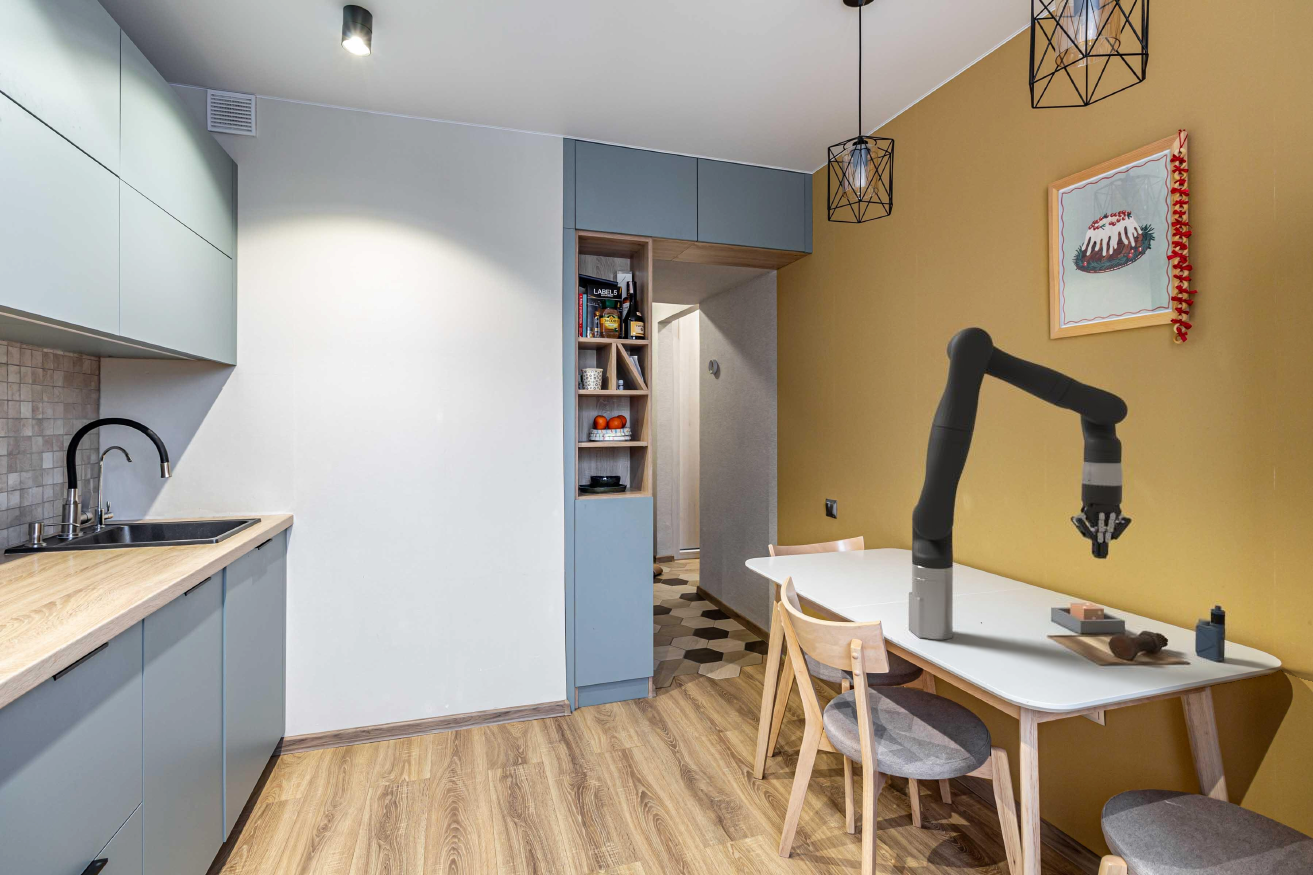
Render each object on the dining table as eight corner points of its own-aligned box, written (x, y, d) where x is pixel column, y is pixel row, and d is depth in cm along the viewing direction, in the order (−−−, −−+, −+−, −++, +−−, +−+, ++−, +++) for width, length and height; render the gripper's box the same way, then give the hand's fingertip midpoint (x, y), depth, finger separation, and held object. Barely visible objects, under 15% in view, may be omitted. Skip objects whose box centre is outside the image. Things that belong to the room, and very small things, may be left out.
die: (1083, 628, 154) (1084, 608, 154) (1070, 622, 159) (1070, 602, 159) (1103, 628, 154) (1104, 608, 154) (1089, 621, 159) (1089, 602, 159)
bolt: (1164, 657, 141) (1124, 665, 135) (1143, 640, 145) (1103, 647, 139) (1180, 639, 138) (1140, 647, 132) (1158, 622, 142) (1118, 629, 136)
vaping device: (1219, 663, 133) (1220, 608, 133) (1192, 654, 138) (1193, 601, 138) (1227, 661, 134) (1228, 607, 134) (1200, 653, 139) (1201, 600, 139)
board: (1100, 665, 133) (1100, 663, 133) (1047, 636, 150) (1047, 635, 150) (1189, 663, 133) (1189, 662, 133) (1126, 635, 151) (1126, 634, 151)
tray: (1080, 635, 151) (1080, 621, 151) (1051, 620, 162) (1051, 607, 162) (1124, 634, 151) (1124, 620, 151) (1092, 620, 162) (1092, 607, 162)
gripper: (1084, 484, 137) (1082, 561, 137) (1143, 484, 137) (1141, 561, 137) (1061, 480, 144) (1060, 554, 145) (1117, 480, 144) (1115, 554, 145)
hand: (1099, 557), depth 141 cm, fingers closed
